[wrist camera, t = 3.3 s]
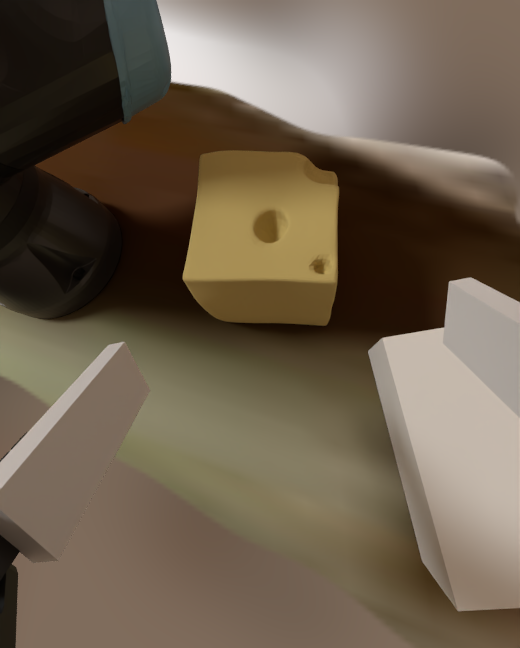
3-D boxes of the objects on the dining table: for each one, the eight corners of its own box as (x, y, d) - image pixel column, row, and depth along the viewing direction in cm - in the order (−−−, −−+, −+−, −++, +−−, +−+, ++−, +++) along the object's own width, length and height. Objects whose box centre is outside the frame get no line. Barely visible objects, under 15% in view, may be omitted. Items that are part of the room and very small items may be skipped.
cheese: (334, 228, 28) (347, 137, 18) (330, 334, 25) (343, 291, 16) (233, 230, 30) (197, 148, 20) (219, 328, 27) (170, 286, 18)
